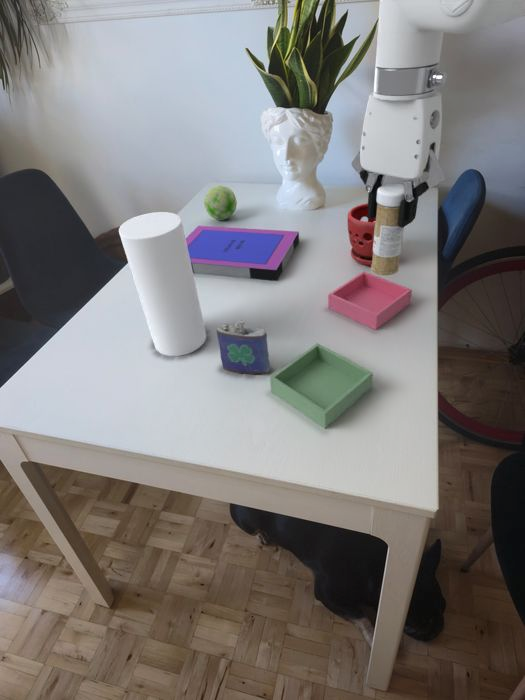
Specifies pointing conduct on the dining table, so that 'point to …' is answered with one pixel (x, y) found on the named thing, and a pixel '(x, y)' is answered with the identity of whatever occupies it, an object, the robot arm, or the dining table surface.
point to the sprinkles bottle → (387, 230)
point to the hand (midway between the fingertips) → (390, 218)
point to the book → (241, 251)
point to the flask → (243, 349)
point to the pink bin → (369, 299)
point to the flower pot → (361, 234)
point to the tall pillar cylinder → (164, 281)
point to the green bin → (321, 384)
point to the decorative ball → (220, 202)
